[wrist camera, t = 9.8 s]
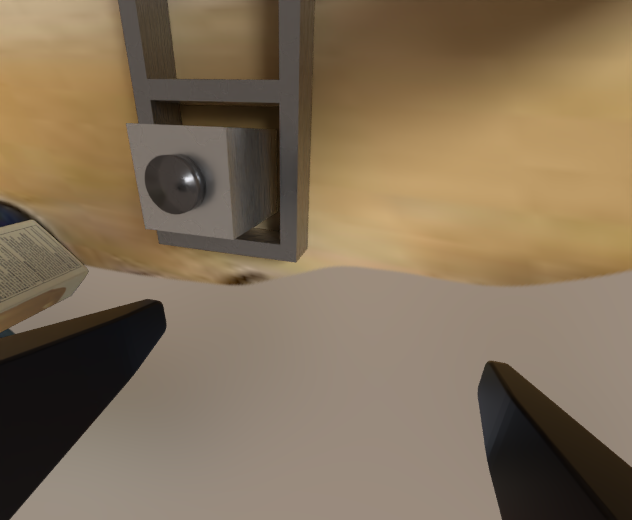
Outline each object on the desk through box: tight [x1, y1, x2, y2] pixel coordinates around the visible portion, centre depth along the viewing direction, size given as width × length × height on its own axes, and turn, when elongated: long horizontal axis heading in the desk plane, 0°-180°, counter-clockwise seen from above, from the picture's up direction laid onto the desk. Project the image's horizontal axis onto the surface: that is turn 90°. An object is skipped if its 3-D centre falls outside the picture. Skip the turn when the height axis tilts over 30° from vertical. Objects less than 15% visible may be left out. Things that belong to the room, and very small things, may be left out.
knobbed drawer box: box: [126, 123, 277, 240], centre depth 17 cm, size 5×5×7 cm
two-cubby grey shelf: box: [118, 0, 315, 262], centre depth 17 cm, size 10×18×2 cm, turn 178°
